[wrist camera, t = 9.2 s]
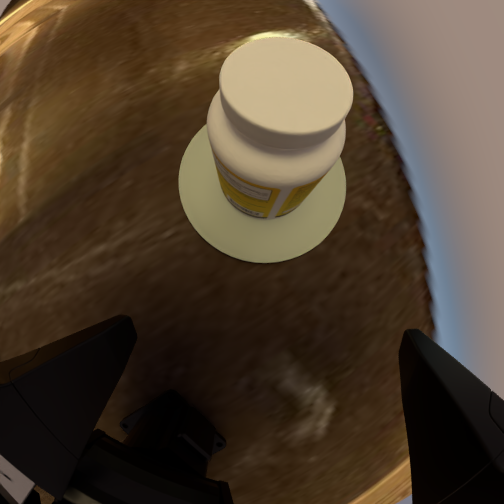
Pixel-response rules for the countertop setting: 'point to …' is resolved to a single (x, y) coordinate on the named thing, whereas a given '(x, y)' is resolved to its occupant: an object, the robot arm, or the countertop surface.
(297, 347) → the countertop surface
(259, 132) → the pill bottle
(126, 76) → the countertop surface
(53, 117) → the countertop surface
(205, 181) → the disc
